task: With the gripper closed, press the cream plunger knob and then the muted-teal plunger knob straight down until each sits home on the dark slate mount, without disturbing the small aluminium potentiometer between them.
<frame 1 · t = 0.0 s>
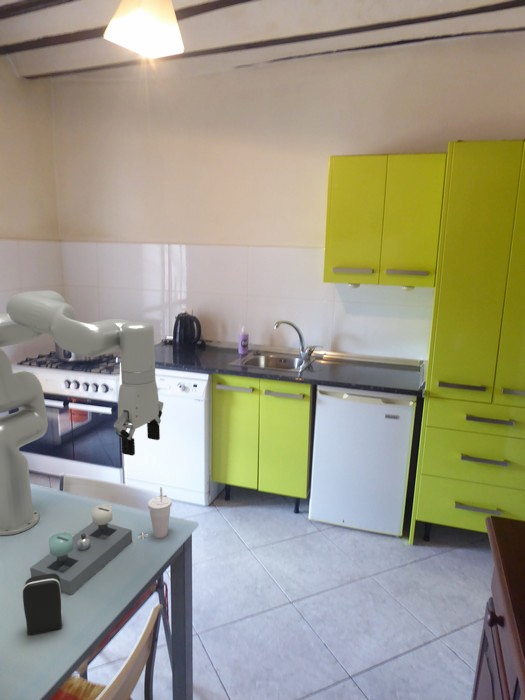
hand: (141, 446, 112), 31 cm above the table, fingers open, 9 cm apart
knob 2: (102, 518, 124), point 8 cm above the table, slide at 3.5 cm
smoothie: (160, 534, 131), on the table
knob 1: (61, 548, 112), point 8 cm above the table, slide at 3.5 cm
mount: (85, 559, 120), on the table
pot: (84, 547, 119), point 3 cm above the table, touching mount
black rounded upright block: (46, 627, 98), on the table
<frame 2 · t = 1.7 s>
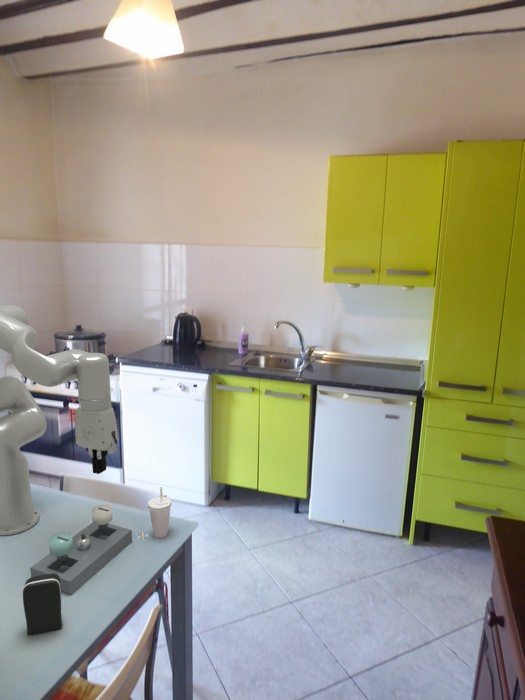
hand: (99, 471, 122), 21 cm above the table, fingers closed
nothing on the table moved.
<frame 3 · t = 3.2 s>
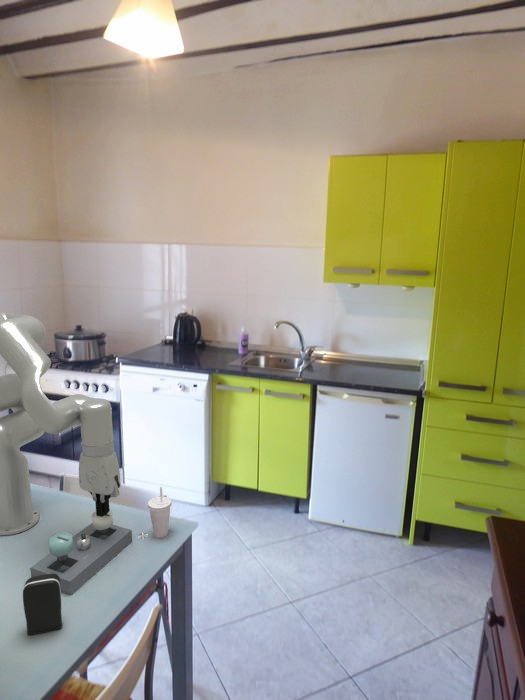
hand: (103, 513, 124), 9 cm above the table, fingers closed
knob 2: (102, 523, 125), point 6 cm above the table, slide at 2.1 cm, touching gripper
everything else where it was.
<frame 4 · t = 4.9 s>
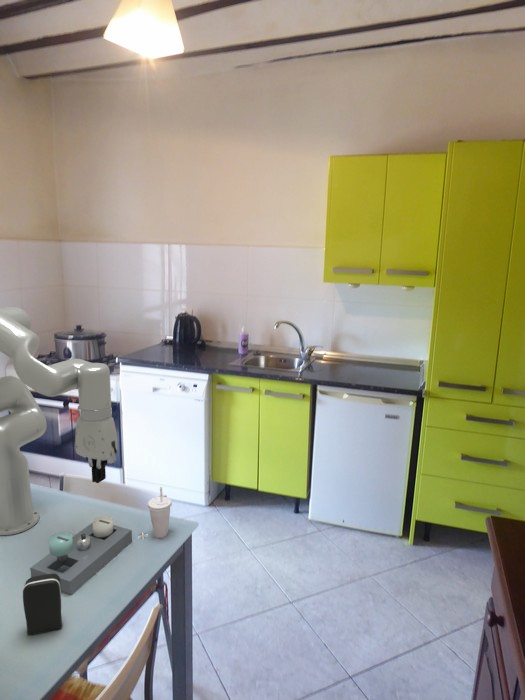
hand: (99, 480, 122), 18 cm above the table, fingers closed
knob 2: (103, 530, 125), point 4 cm above the table, slide at -0.1 cm
everything else where it was.
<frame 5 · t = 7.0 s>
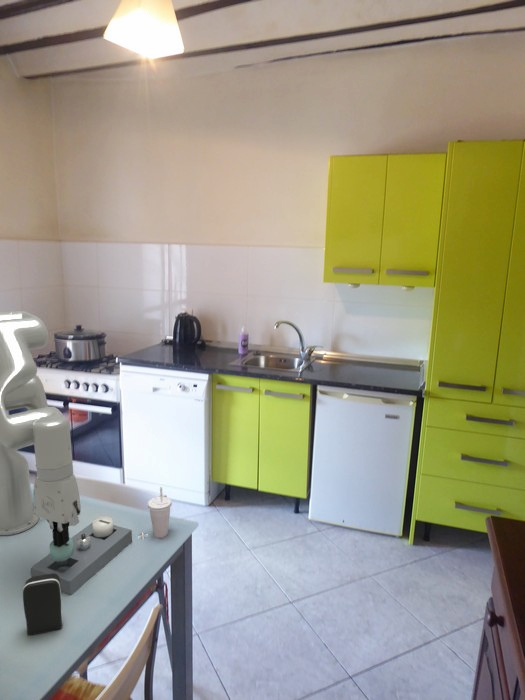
hand: (61, 543, 111), 9 cm above the table, fingers closed
knob 1: (61, 553, 112), point 6 cm above the table, slide at 2.2 cm, touching gripper
everything else where it was.
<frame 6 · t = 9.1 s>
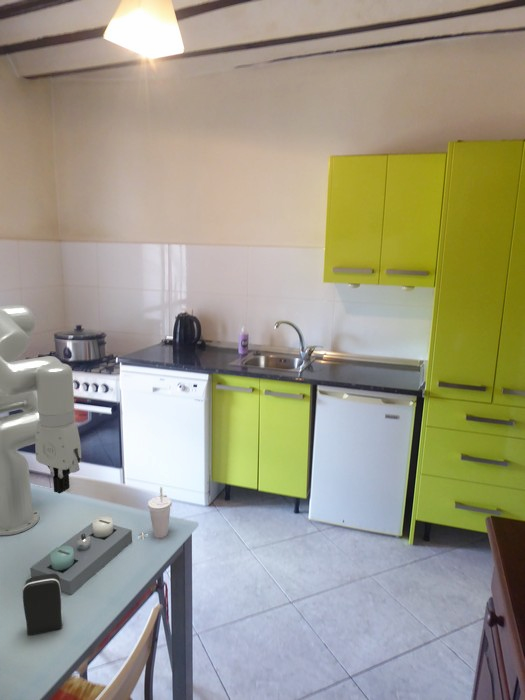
hand: (61, 490, 113), 21 cm above the table, fingers closed
knob 1: (62, 561, 112), point 4 cm above the table, slide at -0.1 cm
everything else where it was.
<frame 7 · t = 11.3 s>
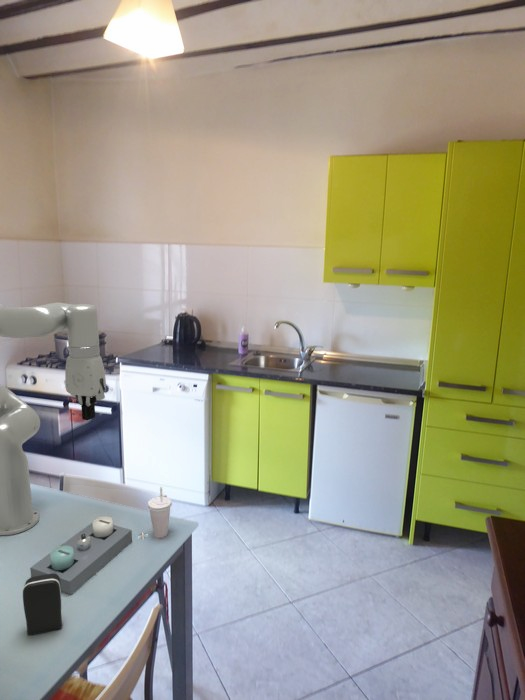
hand: (88, 418, 128), 32 cm above the table, fingers closed
nothing on the table moved.
at the end: knob 2 slide at -0.1 cm; knob 1 slide at -0.1 cm; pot moved 0.1 cm from its start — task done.
